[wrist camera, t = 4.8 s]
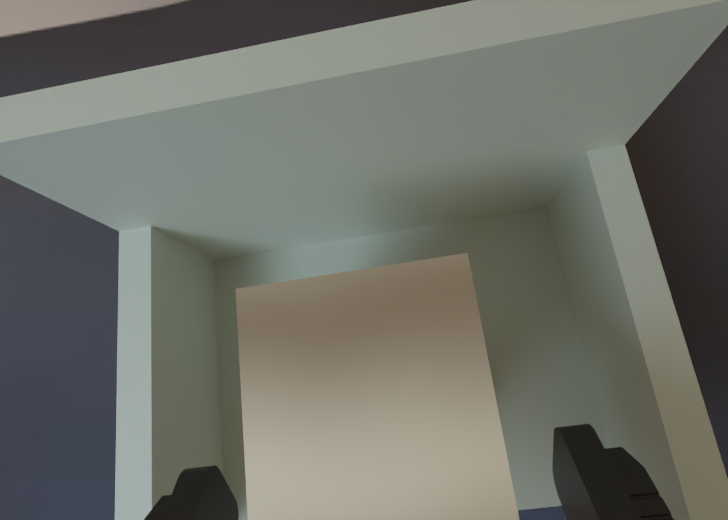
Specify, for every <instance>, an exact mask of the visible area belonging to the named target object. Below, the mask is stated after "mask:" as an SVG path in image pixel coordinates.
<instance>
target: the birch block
mask: <svg viewBox="0 0 728 520" xmlns="http://www.w3.org/2000/svg"><path fill="white" fill-rule="evenodd" d="M235 290H236V309H237V327H238V346H239V365H240V384H241V403H242V421H243V440H244V459H245V478H246V496H247V515H248V520H519V515H518V510H517V505H516V500H515V494H514V489H513V484H512V479H511V474H510V469H509V463H508V458H507V453H506V448H505V443H504V438H503V432H502V427H501V422H500V417H499V412H498V407H497V401H496V396H495V391H494V386H493V381H492V376H491V370H490V365H489V360H488V355H487V350H486V345H485V339H484V334H483V329H482V324H481V319H480V314H479V308H478V303H477V298H476V293H475V288H474V283H473V277H472V272H471V267H470V262H469V257H468V253H464V254H457V255H451V256H444V257H438V258H431V259H425V260H418V261H412V262H406V263H399V264H393V265H386V266H380V267H373V268H367V269H360V270H354V271H347V272H341V273H335V274H328V275H322V276H315V277H309V278H302V279H296V280H289V281H283V282H276V283H270V284H264V285H257V286H251V287H244V288H238V289H235Z"/></svg>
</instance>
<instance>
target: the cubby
mask: <svg viewBox="0 0 728 520" xmlns="http://www.w3.org/2000/svg"><path fill="white" fill-rule="evenodd" d="M727 25H728V0H473V1H468V2H464V3H459V4H454V5H449V6H444V7H439V8H434V9H430V10H425V11H420V12H415V13H410V14H405V15H400V16H396V17H391V18H386V19H381V20H376V21H371V22H366V23H362V24H357V25H352V26H347V27H342V28H337V29H332V30H328V31H323V32H318V33H313V34H308V35H303V36H298V37H294V38H289V39H284V40H279V41H274V42H269V43H264V44H260V45H255V46H250V47H245V48H240V49H235V50H230V51H226V52H221V53H216V54H211V55H206V56H201V57H196V58H192V59H187V60H182V61H177V62H172V63H167V64H162V65H158V66H153V67H148V68H143V69H138V70H133V71H128V72H124V73H119V74H114V75H109V76H104V77H99V78H94V79H90V80H85V81H80V82H75V83H70V84H65V85H60V86H56V87H51V88H46V89H41V90H36V91H31V92H26V93H22V94H17V95H12V96H7V97H2V98H0V175H2V176H4V177H6V178H8V179H10V180H12V181H14V182H16V183H18V184H20V185H23V186H25V187H27V188H29V189H31V190H33V191H35V192H37V193H39V194H42V195H44V196H46V197H48V198H50V199H52V200H54V201H56V202H58V203H61V204H63V205H65V206H67V207H69V208H71V209H73V210H75V211H77V212H79V213H82V214H84V215H86V216H88V217H90V218H92V219H94V220H96V221H98V222H101V223H103V224H105V225H107V226H109V227H111V228H113V229H115V230H117V231H119V279H118V344H117V409H116V474H115V520H144V519H145V517H146V516H147V515H148V514H149V512H150V511H151V510H152V508H153V507H154V506H155V504H156V503H157V502H158V501H159V499H160V498H161V497H162V496H165V495H172V492H173V490H174V487H175V484H176V482H177V479H178V477H179V475H180V473H181V472H182V471H183V470H184V469H188V468H196V467H205V466H214V465H215V466H217V467H218V468H219V469H220V471H221V473H222V475H223V477H224V479H225V480H226V482H227V484H228V486H229V488H230V490H231V492H232V493H233V495H234V497H235V499H236V501H237V505H238V514H239V517H238V520H248V515H247V496H246V478H245V459H244V440H243V421H242V403H241V384H240V365H239V346H238V327H237V309H236V290H235V289H238V288H244V287H251V286H257V285H264V284H270V283H276V282H283V281H289V280H296V279H302V278H309V277H315V276H322V275H328V274H335V273H341V272H347V271H354V270H360V269H367V268H373V267H380V266H386V265H393V264H399V263H406V262H412V261H418V260H425V259H431V258H438V257H444V256H451V255H457V254H464V253H468V257H469V262H470V267H471V272H472V277H473V283H474V288H475V293H476V298H477V303H478V308H479V314H480V319H481V324H482V329H483V334H484V339H485V345H486V350H487V355H488V360H489V365H490V370H491V376H492V381H493V386H494V391H495V396H496V401H497V407H498V412H499V417H500V422H501V427H502V432H503V438H504V443H505V448H506V453H507V458H508V463H509V469H510V474H511V479H512V484H513V489H514V494H515V500H516V505H517V510H525V509H535V508H545V507H555V506H562V505H561V502H560V499H559V497H558V494H557V490H556V487H555V483H554V478H553V470H552V463H553V439H554V429H555V428H556V427H564V426H573V425H581V424H590V425H591V426H592V427H593V428H594V430H595V431H596V433H597V435H598V437H599V439H600V441H601V443H602V445H603V446H604V448H605V449H606V448H615V447H623V448H624V449H625V450H626V451H627V452H628V453H629V454H630V455H631V456H632V457H634V458H635V459H636V460H637V461H638V462H639V463H640V464H641V465H642V466H644V468H645V469H646V471H647V473H648V474H649V476H650V478H651V479H652V481H653V483H654V485H655V486H656V488H657V490H658V491H659V495H660V497H662V498H663V500H664V502H665V503H666V505H667V507H668V508H669V510H670V512H671V515H672V518H673V519H675V520H728V478H727V475H726V472H725V469H724V465H723V462H722V459H721V456H720V452H719V449H718V446H717V443H716V439H715V436H714V433H713V430H712V426H711V423H710V420H709V417H708V413H707V410H706V407H705V404H704V400H703V397H702V394H701V391H700V387H699V384H698V381H697V378H696V374H695V371H694V368H693V365H692V361H691V358H690V355H689V352H688V348H687V345H686V342H685V339H684V335H683V332H682V329H681V326H680V322H679V319H678V316H677V313H676V309H675V306H674V303H673V300H672V296H671V293H670V290H669V287H668V283H667V280H666V277H665V274H664V270H663V267H662V264H661V261H660V257H659V254H658V251H657V248H656V244H655V241H654V238H653V235H652V231H651V228H650V225H649V222H648V218H647V215H646V212H645V209H644V205H643V202H642V199H641V196H640V192H639V189H638V186H637V183H636V179H635V176H634V173H633V170H632V166H631V163H630V160H629V157H628V153H627V150H626V147H625V144H626V143H627V142H628V140H629V139H630V138H631V137H632V136H633V135H634V133H635V132H636V131H637V130H638V129H639V128H640V126H641V125H642V124H643V123H644V122H645V121H646V119H647V118H648V117H649V116H650V115H651V114H652V112H653V111H654V110H655V109H656V108H657V107H658V105H659V104H660V103H661V102H662V101H663V100H664V98H665V97H666V96H667V95H668V94H669V93H670V92H671V90H672V89H673V88H674V87H675V86H676V85H677V83H678V82H679V81H680V80H681V79H682V78H683V76H684V75H685V74H686V73H687V72H688V71H689V69H690V68H691V67H692V66H693V65H694V64H695V62H696V61H697V60H698V59H699V58H700V57H701V55H702V54H703V53H704V52H705V51H706V50H707V48H708V47H709V46H710V45H711V44H712V43H713V41H714V40H715V39H716V38H717V37H718V36H719V34H720V33H721V32H722V31H723V30H724V29H725V27H726V26H727Z"/></svg>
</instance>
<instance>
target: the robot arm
mask: <svg viewBox="0 0 728 520" xmlns="http://www.w3.org/2000/svg"><path fill="white" fill-rule="evenodd" d="M552 470H553V478H554V483H555V487H556V490H557V494H558V497H559V499H560V502H561V505H562V507H563V510H564V512H565V515H566V518H567V520H675V519H673V518H672V515H671V512H670V510H669V508H668V507H667V505H666V503H665V502H664V500H663V498H662V497H660V495H659V491H658V490H657V488H656V486H655V485H654V483H653V481H652V479H651V478H650V476H649V474H648V473H647V471H646V469H645V468H644V466H642V465H641V464H640V463H639V462H638V461H637V460H636V459H635V458H634V457H632V456H631V455H630V454H629V453H628V452H627V451H626V450H625V449H624V448H623V447H615V448H606V449H605V448H604V446H603V445H602V443H601V441H600V439H599V437H598V435H597V433H596V431H595V430H594V428H593V427H592V426H591V425H590V424H581V425H573V426H564V427H556V428H555V429H554V439H553V463H552ZM238 517H239V514H238V505H237V501H236V499H235V497H234V495H233V493H232V492H231V490H230V488H229V486H228V484H227V482H226V480H225V479H224V477H223V475H222V473H221V471H220V469H219V468H218V467H217V466H215V465H214V466H205V467H196V468H188V469H184V470H183V471H182V472H181V473H180V475H179V477H178V479H177V482H176V484H175V487H174V490H173V492H172V495H165V496H162V497H161V498H160V499H159V501H158V502H157V503H156V504H155V506H154V507H153V508H152V510H151V511H150V512H149V514H148V515H147V516H146V517H145V519H144V520H238Z"/></svg>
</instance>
